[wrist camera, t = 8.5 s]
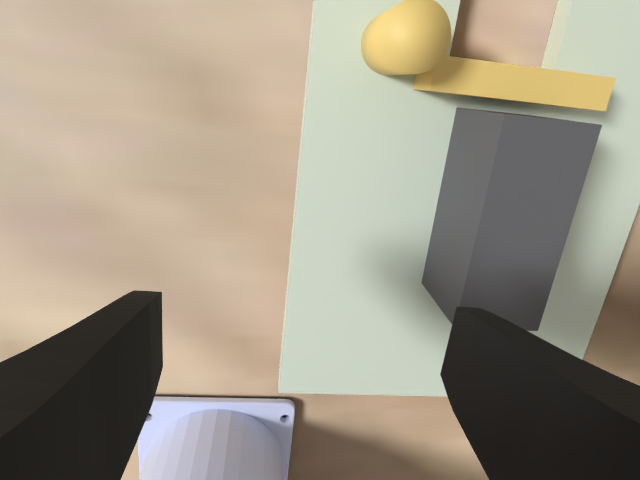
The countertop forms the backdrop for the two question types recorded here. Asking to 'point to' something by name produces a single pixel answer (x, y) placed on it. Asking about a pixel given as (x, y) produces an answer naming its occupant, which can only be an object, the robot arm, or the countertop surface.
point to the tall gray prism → (505, 212)
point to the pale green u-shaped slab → (437, 182)
